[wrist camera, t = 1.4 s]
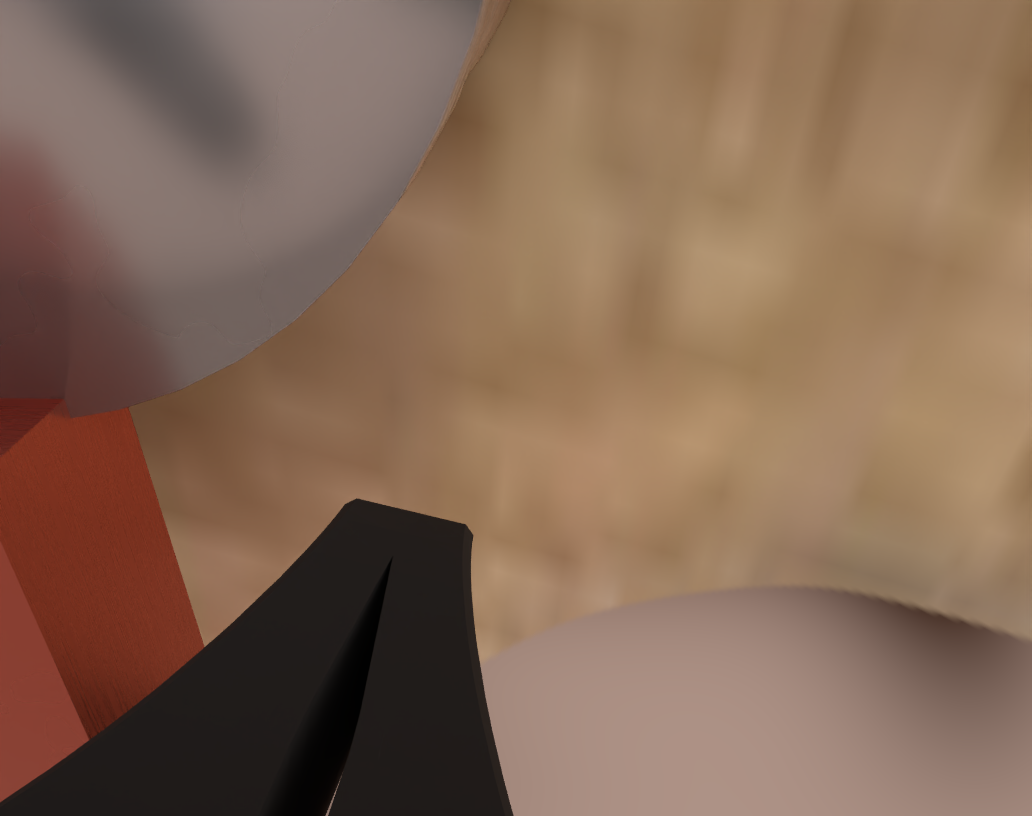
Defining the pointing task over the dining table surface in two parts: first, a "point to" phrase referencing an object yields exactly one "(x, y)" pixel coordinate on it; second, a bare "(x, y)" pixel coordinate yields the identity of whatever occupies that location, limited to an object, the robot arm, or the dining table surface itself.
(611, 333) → the dining table surface
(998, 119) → the dining table surface
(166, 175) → the cooker lid
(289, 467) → the dining table surface
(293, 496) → the dining table surface
